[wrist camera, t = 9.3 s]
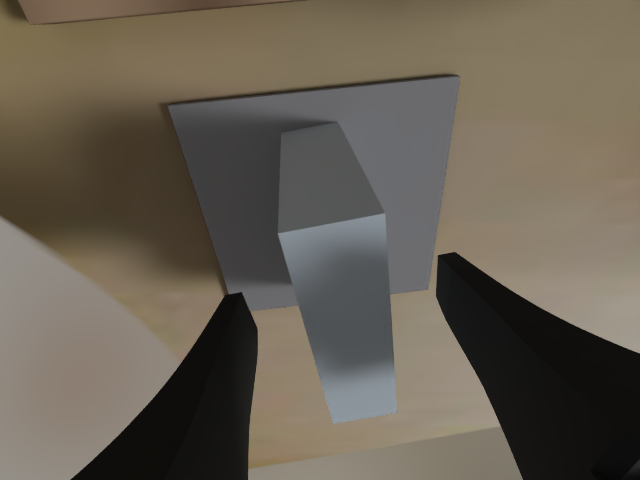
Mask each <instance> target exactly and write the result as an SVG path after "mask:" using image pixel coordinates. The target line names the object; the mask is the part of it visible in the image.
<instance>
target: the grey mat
mask: <svg viewBox="0 0 640 480" xmlns="http://www.w3.org/2000/svg"><path fill="white" fill-rule="evenodd" d="M459 82H460V76H458V75H450V76H440V77H430V78H420V79H411V80H401V81H391V82H381V83H371V84H361V85H352V86H342V87H332V88H322V89H312V90H302V91H292V92H283V93H273V94H263V95H253V96H243V97H233V98H224V99H214V100H204V101H194V102H184V103H174V104H170V105H168V109H169V112H170V115H171V118H172V121H173V124H174V127H175V130H176V133H177V136H178V140H179V143H180V146H181V149H182V152H183V155H184V158H185V161H186V164H187V167H188V170H189V173H190V176H191V179H192V182H193V186H194V189H195V192H196V195H197V198H198V201H199V204H200V207H201V210H202V213H203V216H204V219H205V222H206V225H207V228H208V231H209V235H210V238H211V241H212V244H213V247H214V250H215V253H216V256H217V259H218V262H219V265H220V268H221V271H222V274H223V277H224V280H225V284H226V287H227V290H228V293H229V294H234V293H239V292H242V294H243V296H244V298H245V301H246V303H247V305H248V308H249V310H250V311H255V310H263V309H272V308H280V307H288V306H297V305H298V301H297V298H296V294H295V291H294V288H293V284H292V281H291V277H290V274H289V270H288V267H287V264H286V260H285V257H284V253H283V250H282V246H281V243H280V239H279V236H278V213H279V183H280V153H281V133H283V132H288V131H293V130H298V129H303V128H309V127H314V126H319V125H324V124H329V123H334V122H338V123H339V124H340V126H341V128H342V130H343V132H344V134H345V136H346V138H347V140H348V142H349V144H350V146H351V148H352V150H353V152H354V154H355V156H356V158H357V159H358V161H359V163H360V165H361V167H362V169H363V171H364V173H365V175H366V177H367V179H368V181H369V183H370V185H371V187H372V189H373V191H374V192H375V194H376V196H377V198H378V200H379V202H380V204H381V206H382V208H383V210H384V212H385V218H386V235H387V252H388V269H389V286H390V294H396V293H404V292H412V291H421V290H428V287H429V281H430V274H431V267H432V261H433V254H434V248H435V241H436V234H437V228H438V221H439V214H440V208H441V201H442V195H443V188H444V181H445V175H446V168H447V161H448V155H449V148H450V142H451V135H452V128H453V122H454V115H455V108H456V102H457V95H458V89H459Z"/></svg>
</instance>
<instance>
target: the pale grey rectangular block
mask: <svg viewBox="0 0 640 480" xmlns="http://www.w3.org/2000/svg"><path fill="white" fill-rule="evenodd" d="M278 236H279V239H280V243H281V246H282V250H283V253H284V257H285V260H286V264H287V267H288V270H289V274H290V277H291V281H292V284H293V288H294V291H295V294H296V298H297V301H298V305H299V308H300V312H301V315H302V318H303V322H304V325H305V329H306V332H307V336H308V339H309V343H310V346H311V349H312V353H313V356H314V360H315V363H316V367H317V370H318V373H319V377H320V380H321V384H322V387H323V391H324V394H325V397H326V401H327V404H328V408H329V411H330V415H331V418H332V422H333V424H336V423H342V422H347V421H353V420H359V419H364V418H370V417H375V416H381V415H387V414H392V413H397V404H396V387H395V370H394V353H393V336H392V320H391V303H390V286H389V269H388V252H387V235H386V218H385V212H384V210H383V208H382V206H381V204H380V202H379V200H378V198H377V196H376V194H375V192H374V191H373V189H372V187H371V185H370V183H369V181H368V179H367V177H366V175H365V173H364V171H363V169H362V167H361V165H360V163H359V161H358V159H357V158H356V156H355V154H354V152H353V150H352V148H351V146H350V144H349V142H348V140H347V138H346V136H345V134H344V132H343V130H342V128H341V126H340V124H339V123H338V122H334V123H329V124H324V125H319V126H314V127H309V128H303V129H298V130H293V131H288V132H283V133H281V153H280V183H279V213H278Z"/></svg>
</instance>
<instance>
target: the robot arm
mask: <svg viewBox="0 0 640 480" xmlns="http://www.w3.org/2000/svg"><path fill="white" fill-rule="evenodd" d="M436 297H437V300H438V302H439V305H440V307H441V310H442V312H443V314H444V317H445V319H446V321H447V323H448V325H449V327H450V328H451V330H452V332H453V334H454V335H455V337H456V339H457V341H458V342H459V344H460V346H461V348H462V349H463V351H464V353H465V355H466V356H467V358H468V360H469V362H470V363H471V365H472V367H473V369H474V370H475V372H476V374H477V376H478V378H479V379H480V381H481V383H482V385H483V387H484V389H485V391H486V394H487V396H488V398H489V400H490V402H491V405H492V407H493V409H494V411H495V414H496V416H497V418H498V420H499V423H500V425H501V427H502V430H503V432H504V434H505V437H506V439H507V441H508V444H509V446H510V449H511V451H512V453H513V456H514V458H515V461H516V463H517V466H518V468H519V470H520V473H521V476H522V478H523V480H640V354H639V353H637V352H634V351H632V350H629V349H627V348H624V347H622V346H619V345H617V344H614V343H612V342H610V341H607V340H605V339H603V338H601V337H598V336H596V335H594V334H592V333H589V332H587V331H585V330H583V329H581V328H578V327H576V326H574V325H572V324H570V323H568V322H566V321H564V320H562V319H560V318H558V317H556V316H555V315H553V314H551V313H549V312H547V311H545V310H543V309H541V308H540V307H538V306H536V305H534V304H533V303H531V302H529V301H528V300H526V299H524V298H522V297H521V296H519V295H517V294H516V293H514V292H513V291H511V290H509V289H508V288H506V287H505V286H503V285H502V284H500V283H499V282H497V281H496V280H494V279H493V278H491V277H490V276H488V275H487V274H485V273H484V272H483V271H481V270H480V269H478V268H477V267H475V266H474V265H473V264H471V263H470V262H468V261H467V260H466V259H464V258H463V257H461V256H460V255H459V254H457V253H456V252H453V253H447V254H442V255H438V266H437V286H436ZM257 355H258V332H257V326H256V324H255V322H254V319H253V317H252V315H251V312H250V310H249V308H248V305H247V303H246V301H245V298H244V296H243V294H242V292H239V293H234V294H228V295H225V296H224V298H223V300H222V301H221V303H220V304H219V306H218V308H217V309H216V311H215V313H214V314H213V316H212V317H211V319H210V321H209V322H208V324H207V326H206V327H205V329H204V330H203V332H202V333H201V335H200V336H199V338H198V339H197V341H196V343H195V344H194V346H193V347H192V349H191V350H190V351H189V353H188V354H187V356H186V357H185V358H184V360H183V361H182V363H181V364H180V365H179V367H178V368H177V370H176V371H175V372H174V373H173V375H172V376H171V377H170V379H169V380H168V381H167V382H166V384H165V385H164V386H163V388H162V389H161V390H160V391H159V392H158V394H157V395H156V396H155V397H154V398H153V399H152V400H151V402H150V403H149V404H148V405H147V406H146V407H145V408H144V409H143V410H142V411H141V412H140V413H139V415H138V416H137V417H136V418H135V419H134V420H133V421H132V422H131V423H130V424H129V425H128V426H127V427H126V428H125V429H124V431H122V432H121V434H120V435H119V436H118V437H116V439H114V440H113V441H112V442H111V443H110V444H109V445H108V446H107V447H106V448H105V449H104V450H103V451H102V452H101V453H100V454H99V455H98V456H97V457H95V458H94V459H93V460H92V461H91V462H90V463H89V464H88V465H87V466H86V467H85V468H83V469H82V470H81V471H80V472H79V473H78V474H77V475H75V476H74V477H73V478H72V479H71V480H248V448H249V424H250V413H251V405H252V397H253V389H254V381H255V373H256V364H257Z"/></svg>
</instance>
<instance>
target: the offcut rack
mask: <svg viewBox="0 0 640 480" xmlns="http://www.w3.org/2000/svg"><path fill="white" fill-rule="evenodd" d="M18 1H19V3H20V5H21V7H22V9H23V11H24V13H25V16H26V18H27V20H28V22H29V24H30V25H38V24H59V23H70V22H80V21H91V20H102V19H112V18H123V17H134V16H144V15H155V14H166V13H176V12H187V11H198V10H208V9H219V8H230V7H240V6H251V5H262V4H272V3H283V2H294V1H305V0H18Z"/></svg>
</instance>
